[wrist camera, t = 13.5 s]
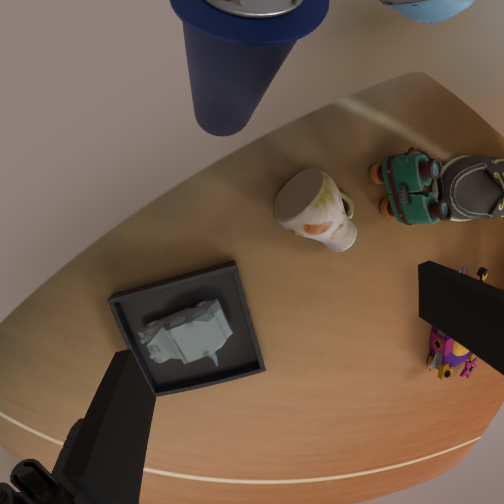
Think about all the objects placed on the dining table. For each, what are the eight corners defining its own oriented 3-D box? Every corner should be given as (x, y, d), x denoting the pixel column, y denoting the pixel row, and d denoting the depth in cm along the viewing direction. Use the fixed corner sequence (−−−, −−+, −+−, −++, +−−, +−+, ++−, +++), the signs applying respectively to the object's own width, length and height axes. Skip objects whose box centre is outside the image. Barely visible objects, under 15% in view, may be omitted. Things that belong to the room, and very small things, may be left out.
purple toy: (480, 253, 39) (532, 268, 27) (467, 366, 45) (504, 393, 33) (426, 276, 38) (485, 300, 26) (417, 397, 43) (453, 433, 31)
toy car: (140, 324, 32) (132, 343, 28) (216, 294, 33) (218, 310, 28) (165, 366, 34) (161, 389, 29) (238, 340, 34) (242, 360, 30)
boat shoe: (420, 169, 35) (463, 166, 26) (506, 141, 37) (538, 139, 28) (435, 244, 37) (477, 255, 29) (516, 196, 39) (547, 199, 31)
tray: (112, 294, 32) (107, 299, 30) (234, 260, 33) (236, 264, 31) (154, 388, 35) (152, 397, 33) (263, 362, 36) (266, 370, 34)
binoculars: (482, 208, 26) (439, 239, 25) (425, 205, 36) (378, 229, 35) (466, 135, 24) (418, 150, 23) (409, 145, 34) (358, 161, 33)
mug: (330, 265, 35) (319, 274, 26) (277, 209, 37) (249, 198, 28) (373, 223, 33) (379, 217, 24) (318, 168, 35) (303, 143, 26)
